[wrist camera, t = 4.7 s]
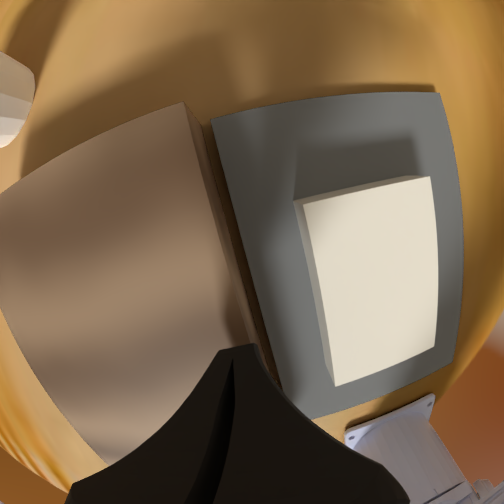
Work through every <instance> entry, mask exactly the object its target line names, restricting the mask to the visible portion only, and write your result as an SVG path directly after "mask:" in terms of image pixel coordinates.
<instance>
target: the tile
mask: <svg viewBox="0 0 504 504" xmlns="http://www.w3.org/2000/svg"><path fill="white" fill-rule="evenodd" d="M293 203H294V207H295V212H296V216H297V220H298V224H299V229H300V233H301V238H302V242H303V247H304V251H305V256H306V261H307V265H308V270H309V275H310V280H311V285H312V290H313V295H314V301H315V306H316V311H317V317H318V322H319V328H320V334H321V339H322V345H323V352H324V358H325V364H326V366H327V369H328V371H329V373H330V376H331V378H332V380H333V383H334V385H335V387H336V386H339V385H342V384H345V383H348V382H351V381H354V380H357V379H360V378H362V377H365V376H368V375H370V374H373V373H376V372H378V371H381V370H383V369H386V368H388V367H391V366H393V365H395V364H398V363H400V362H402V361H405V360H407V359H409V358H411V357H413V356H416V355H418V354H420V353H422V352H424V351H426V350H428V349H430V348H432V347H434V343H435V333H436V322H437V306H438V247H437V231H436V219H435V209H434V201H433V193H432V186H431V180H430V176H401V177H396V178H391V179H387V180H382V181H377V182H372V183H368V184H363V185H358V186H354V187H349V188H345V189H340V190H336V191H332V192H327V193H323V194H319V195H315V196H311V197H306V198H302V199H298V200H294V201H293Z"/></svg>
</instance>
